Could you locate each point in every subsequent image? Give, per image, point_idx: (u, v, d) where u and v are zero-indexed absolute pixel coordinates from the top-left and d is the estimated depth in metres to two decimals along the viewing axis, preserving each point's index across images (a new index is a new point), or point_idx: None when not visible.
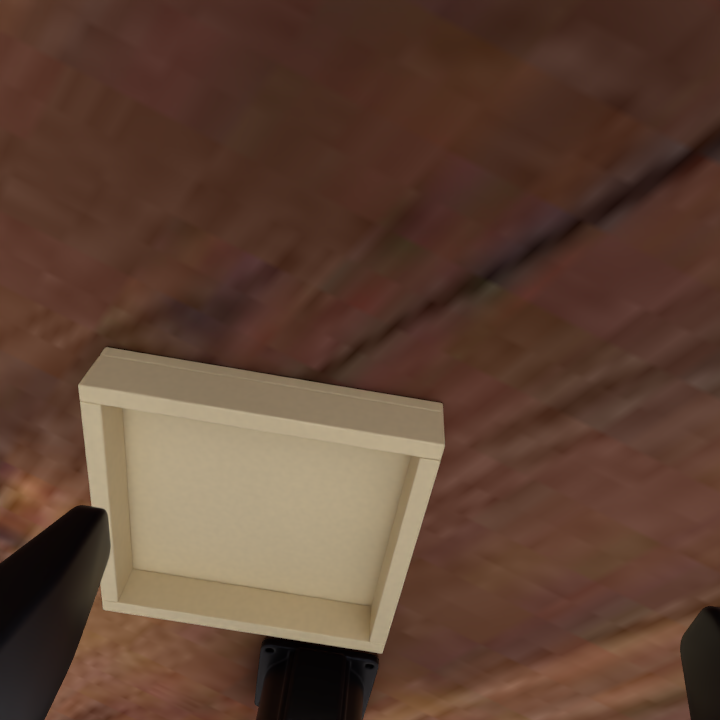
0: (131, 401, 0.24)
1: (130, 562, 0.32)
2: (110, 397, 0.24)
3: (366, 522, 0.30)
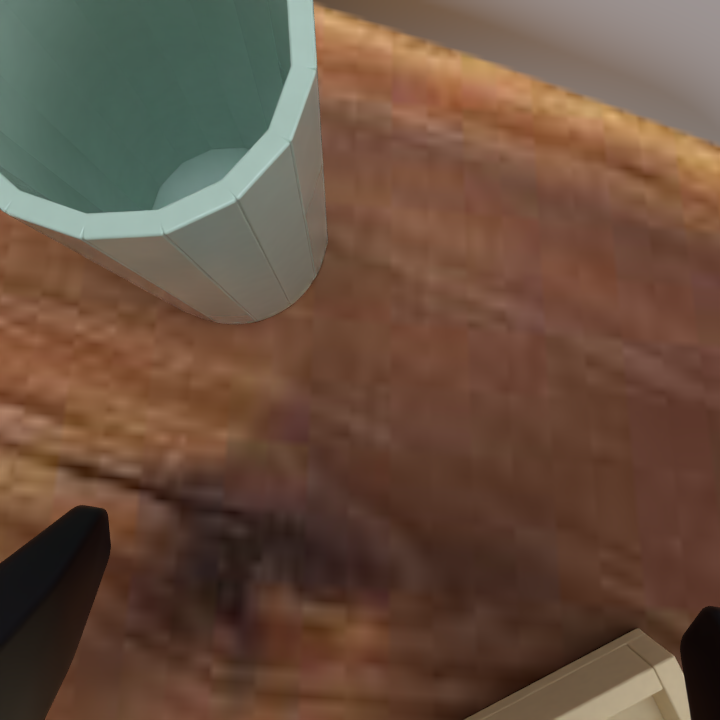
0: None
1: None
2: (682, 694, 0.21)
3: None
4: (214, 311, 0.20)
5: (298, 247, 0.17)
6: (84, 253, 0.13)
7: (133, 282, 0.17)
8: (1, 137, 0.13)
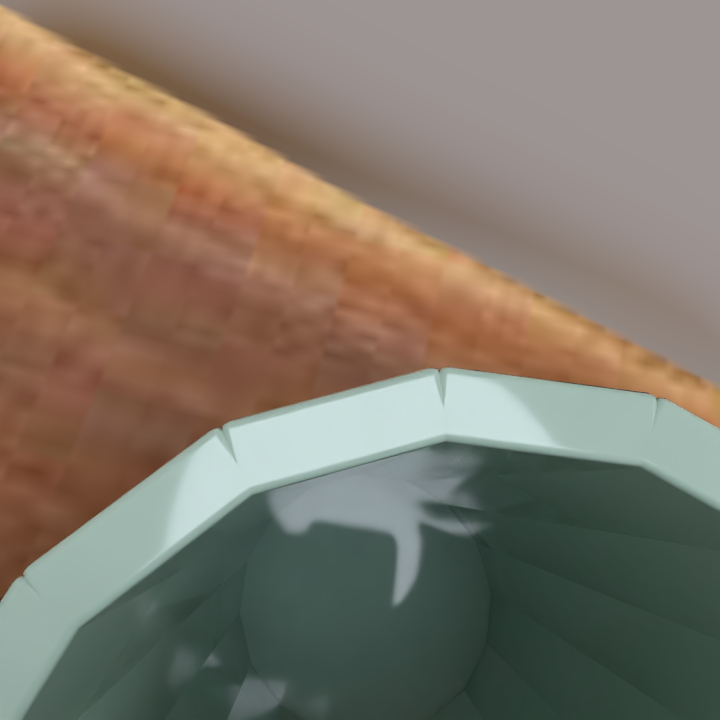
0: None
1: None
2: None
3: None
4: None
5: None
6: None
7: None
8: None
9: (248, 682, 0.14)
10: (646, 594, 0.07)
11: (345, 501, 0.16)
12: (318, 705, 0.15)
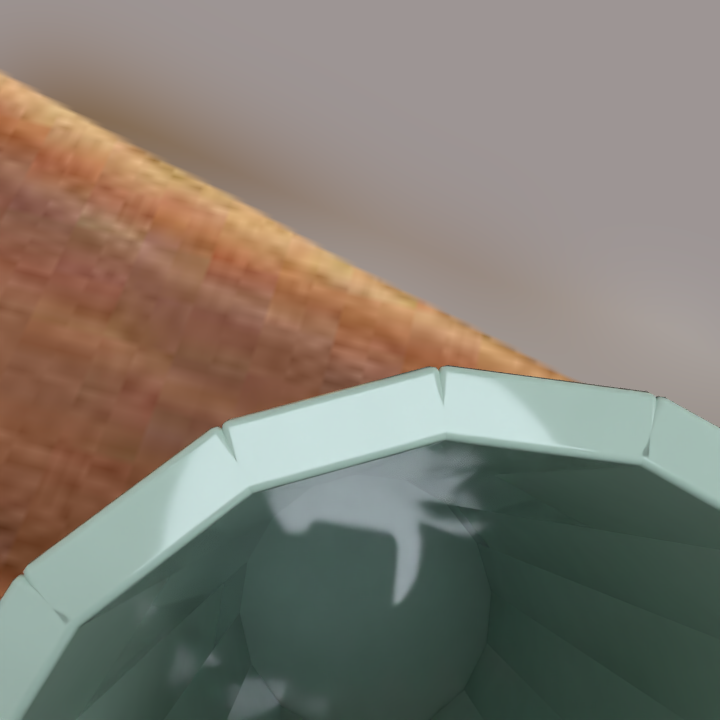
0: None
1: None
2: None
3: None
4: None
5: None
6: None
7: None
8: None
9: (248, 682, 0.14)
10: (646, 593, 0.07)
11: (345, 501, 0.16)
12: (318, 704, 0.15)
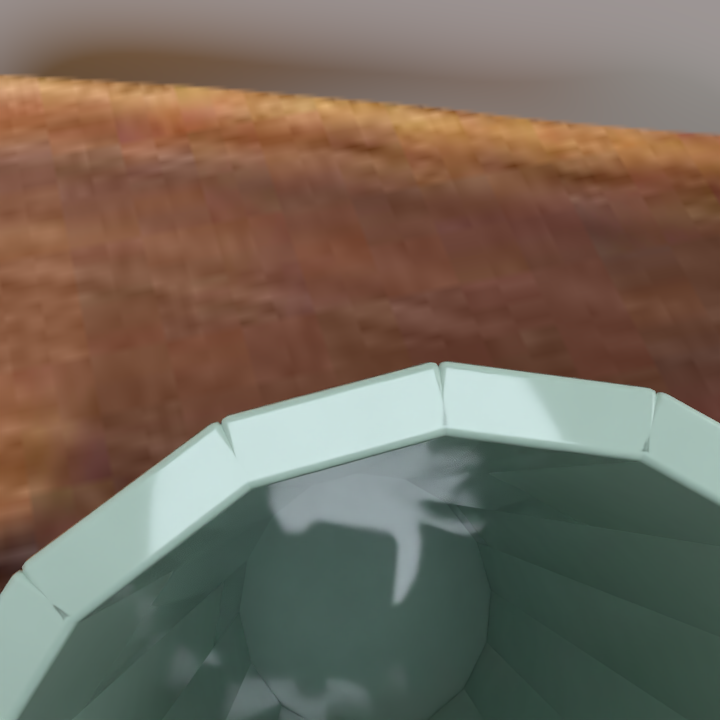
0: None
1: None
2: None
3: None
4: None
5: None
6: None
7: None
8: None
9: (248, 681, 0.14)
10: (646, 591, 0.07)
11: (345, 500, 0.16)
12: (318, 704, 0.15)
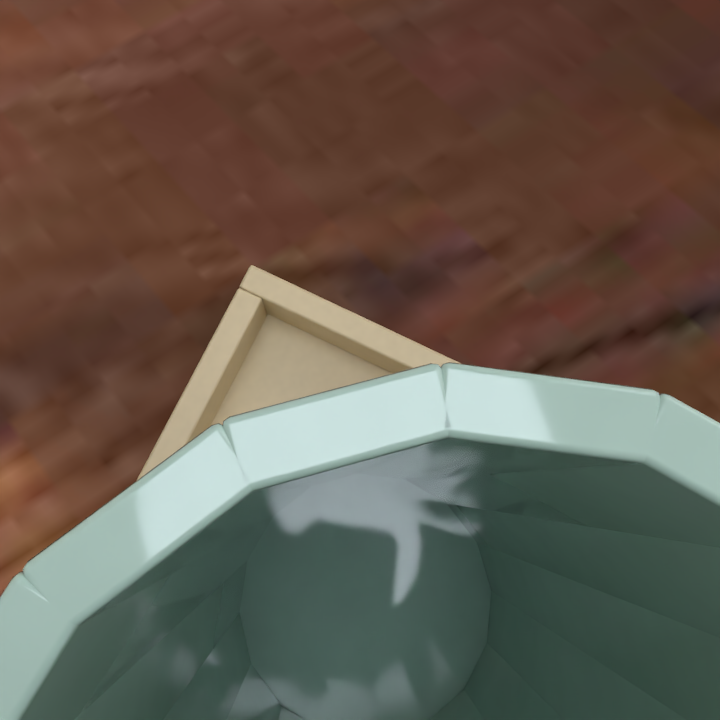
0: (304, 302, 0.19)
1: None
2: (281, 290, 0.19)
3: None
4: None
5: None
6: None
7: None
8: None
9: (248, 681, 0.14)
10: (647, 592, 0.07)
11: (345, 500, 0.16)
12: (318, 705, 0.15)
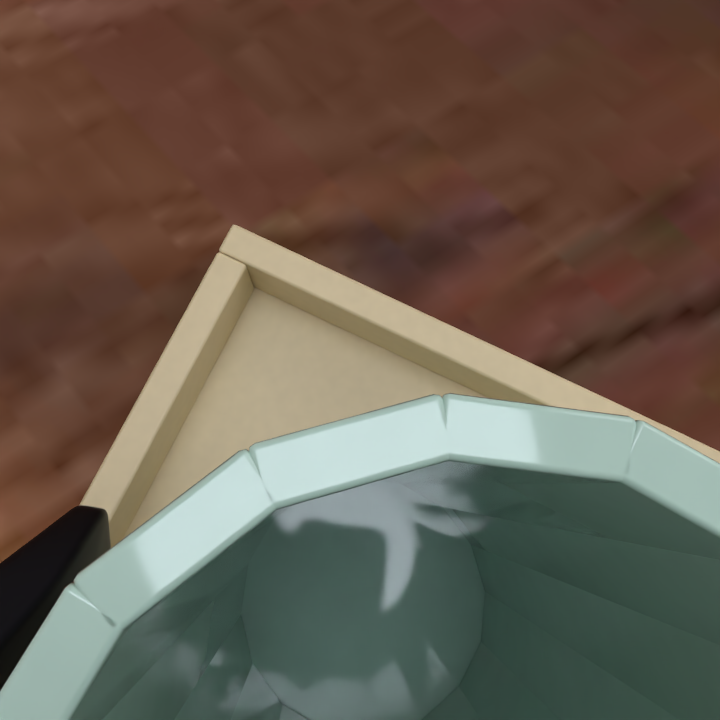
0: (298, 269, 0.16)
1: None
2: (270, 254, 0.16)
3: None
4: None
5: None
6: None
7: None
8: None
9: (250, 681, 0.14)
10: (631, 594, 0.07)
11: (343, 504, 0.16)
12: (317, 703, 0.15)
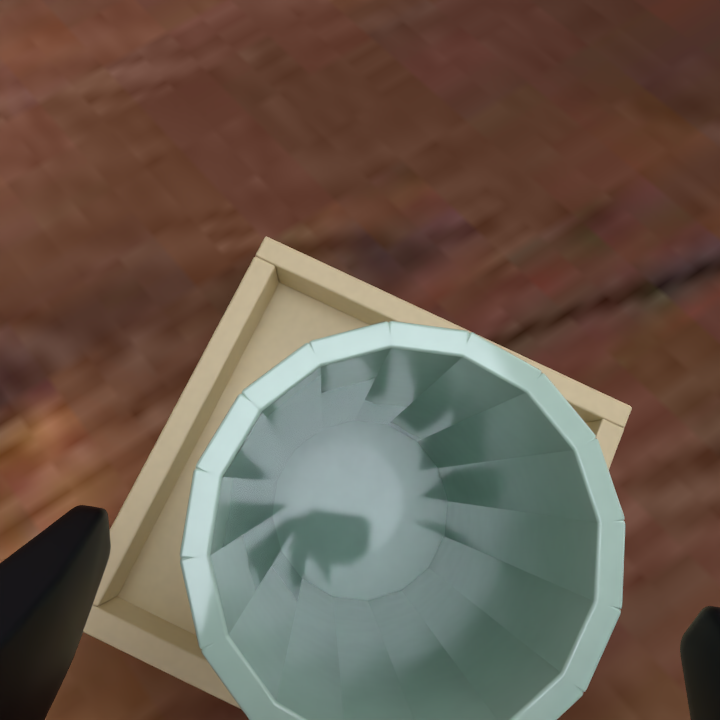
0: (313, 268, 0.22)
1: (128, 572, 0.21)
2: (292, 258, 0.22)
3: None
4: None
5: None
6: None
7: None
8: (230, 555, 0.12)
9: (281, 556, 0.20)
10: (503, 446, 0.14)
11: (345, 439, 0.22)
12: (327, 578, 0.22)
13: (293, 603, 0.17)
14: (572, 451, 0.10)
